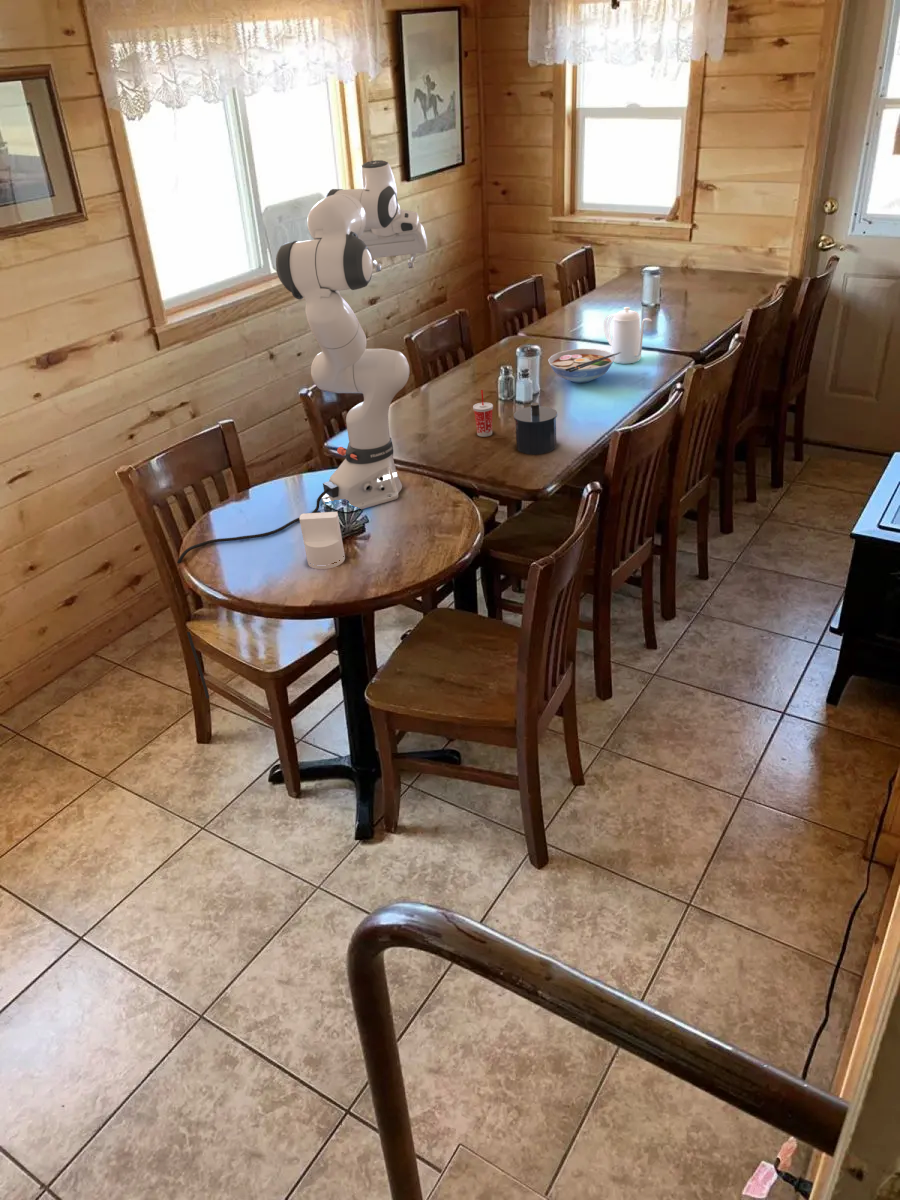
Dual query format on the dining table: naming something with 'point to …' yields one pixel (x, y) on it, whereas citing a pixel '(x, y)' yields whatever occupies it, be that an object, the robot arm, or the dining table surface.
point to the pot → (536, 437)
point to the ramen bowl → (581, 364)
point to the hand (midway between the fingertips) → (395, 268)
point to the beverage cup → (483, 418)
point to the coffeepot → (625, 335)
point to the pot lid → (535, 414)
